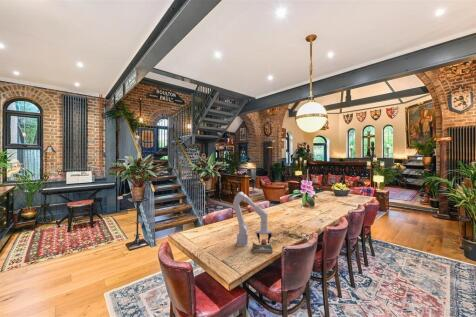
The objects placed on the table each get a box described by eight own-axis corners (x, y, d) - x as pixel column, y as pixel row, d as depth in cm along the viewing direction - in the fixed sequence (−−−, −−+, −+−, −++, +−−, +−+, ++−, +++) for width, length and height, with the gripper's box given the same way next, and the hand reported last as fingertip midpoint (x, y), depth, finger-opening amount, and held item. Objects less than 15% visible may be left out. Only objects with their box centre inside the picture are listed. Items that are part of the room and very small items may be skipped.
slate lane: (253, 252, 159) (253, 246, 159) (253, 247, 167) (253, 242, 167) (272, 252, 158) (272, 247, 158) (271, 247, 166) (271, 242, 166)
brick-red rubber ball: (261, 244, 169) (261, 240, 168) (261, 242, 173) (261, 237, 172) (266, 244, 168) (266, 240, 168) (265, 242, 172) (266, 238, 172)
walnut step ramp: (253, 252, 159) (253, 245, 159) (252, 247, 167) (252, 241, 167) (260, 252, 159) (260, 245, 159) (259, 247, 167) (259, 241, 167)
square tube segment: (261, 246, 168) (261, 244, 168) (260, 244, 173) (260, 242, 173) (266, 246, 168) (266, 244, 168) (266, 244, 173) (266, 242, 173)
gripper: (255, 227, 166) (255, 244, 167) (273, 228, 166) (273, 244, 166) (255, 224, 173) (255, 240, 174) (272, 225, 173) (272, 240, 173)
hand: (263, 242), depth 170 cm, fingers open, 7 cm apart
